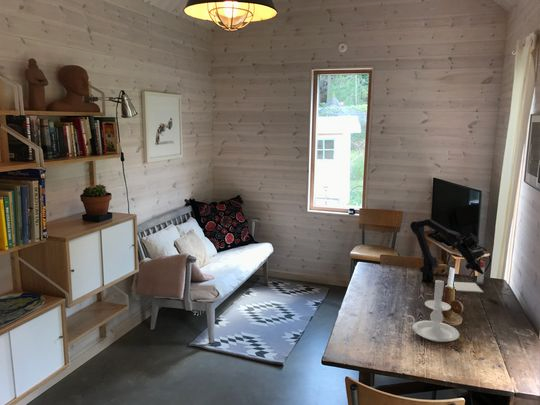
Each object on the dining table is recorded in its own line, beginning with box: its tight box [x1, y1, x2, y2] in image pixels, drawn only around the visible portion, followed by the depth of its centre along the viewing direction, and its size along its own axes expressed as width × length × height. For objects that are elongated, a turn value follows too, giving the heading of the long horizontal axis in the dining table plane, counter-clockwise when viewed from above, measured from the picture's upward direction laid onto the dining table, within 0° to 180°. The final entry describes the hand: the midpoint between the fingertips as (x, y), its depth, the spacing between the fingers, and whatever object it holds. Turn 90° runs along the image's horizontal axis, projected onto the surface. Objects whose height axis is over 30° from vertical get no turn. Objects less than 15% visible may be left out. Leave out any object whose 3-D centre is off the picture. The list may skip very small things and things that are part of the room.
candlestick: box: [403, 279, 460, 343], centre depth 202 cm, size 21×25×28 cm
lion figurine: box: [433, 262, 450, 276], centre depth 290 cm, size 15×5×9 cm, turn 71°
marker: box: [475, 260, 486, 285], centre depth 253 cm, size 4×4×13 cm
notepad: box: [453, 281, 485, 294], centre depth 266 cm, size 17×15×1 cm
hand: (483, 273), depth 253 cm, fingers closed on marker, 3 cm apart
